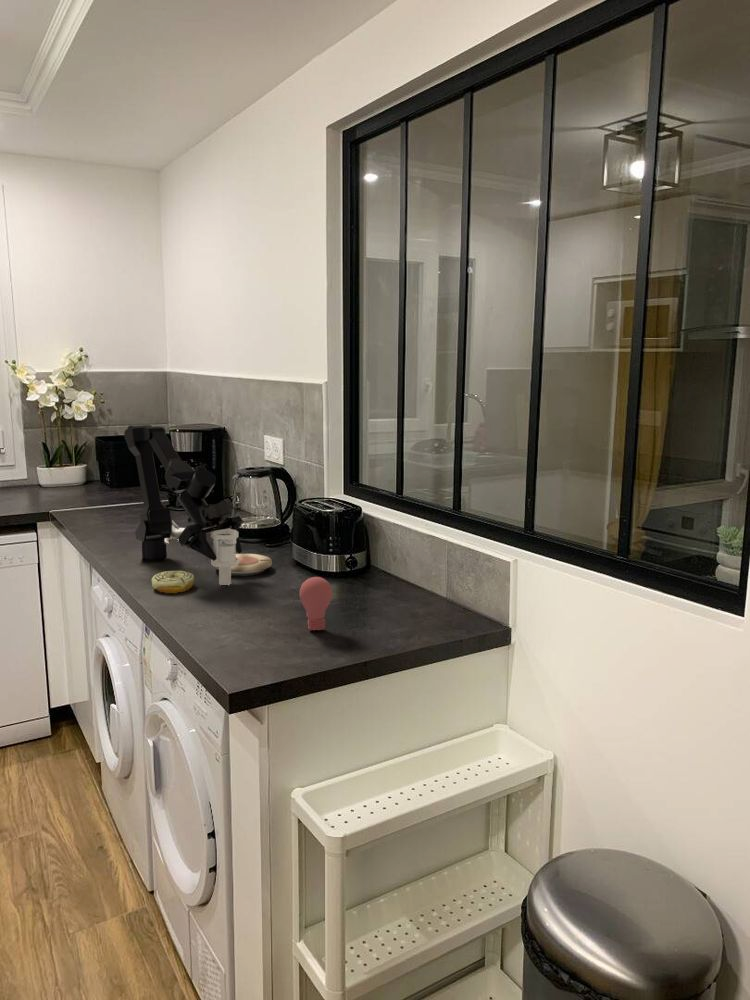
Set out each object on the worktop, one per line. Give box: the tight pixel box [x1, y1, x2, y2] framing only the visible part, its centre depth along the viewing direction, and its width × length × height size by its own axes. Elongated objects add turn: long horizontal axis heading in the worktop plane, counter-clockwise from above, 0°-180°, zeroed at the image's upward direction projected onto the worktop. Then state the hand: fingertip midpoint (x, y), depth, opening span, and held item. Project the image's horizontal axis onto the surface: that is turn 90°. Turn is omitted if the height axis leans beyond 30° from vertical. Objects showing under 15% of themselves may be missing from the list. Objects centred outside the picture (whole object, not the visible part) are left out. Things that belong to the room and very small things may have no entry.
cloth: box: [165, 519, 186, 544], centre depth 246 cm, size 22×19×6 cm
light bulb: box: [299, 576, 333, 631], centre depth 163 cm, size 7×7×12 cm
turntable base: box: [231, 569, 265, 577], centre depth 209 cm, size 12×12×2 cm
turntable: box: [213, 553, 273, 572], centre depth 209 cm, size 16×16×1 cm
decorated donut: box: [150, 570, 195, 594], centre depth 191 cm, size 10×11×4 cm
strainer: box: [210, 528, 239, 586], centre depth 194 cm, size 7×7×15 cm
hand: (228, 556), depth 194 cm, fingers open, 9 cm apart
